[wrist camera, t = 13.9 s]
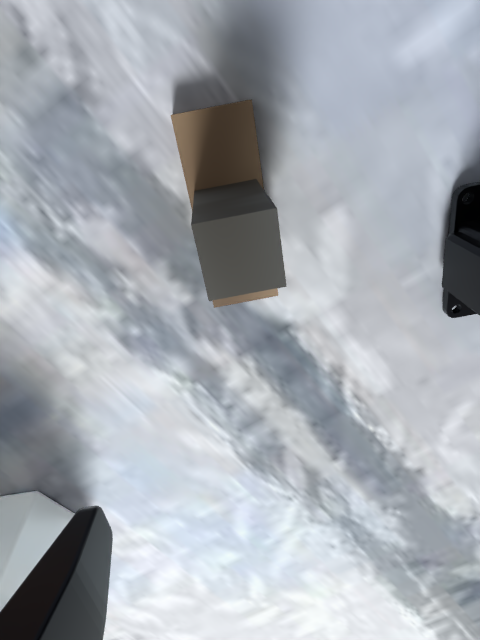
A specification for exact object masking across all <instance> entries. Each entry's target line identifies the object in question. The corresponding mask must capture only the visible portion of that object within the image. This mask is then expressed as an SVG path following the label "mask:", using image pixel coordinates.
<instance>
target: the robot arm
mask: <svg viewBox="0 0 480 640" xmlns="http://www.w3.org/2000/svg"><path fill="white" fill-rule="evenodd" d="M466 193H468V194H469V196H468V199H467V200H466V201H464V202H463V201H462V199H463V196H464V195H465V194H466ZM442 287H443V288H444V296H443V311H444V313H445V314H447V315H448V316H449V317H451V318H457V317H462V316H467V315H473V314H478V315H480V182H477V183H472V184H466V185H463V186H460V187H459V188H458V189H456V190H455V192H454V193H453V196H452V202H451V214H450V226H449V235H448V237H447V238H446V242H445V254H444V266H443V278H442ZM455 305H457V307H456V308H455V309H453V310H452V308H453V307H454V306H455ZM112 540H113V538H112V530H111V527H110V525H109V523H108V521H107V519H106V516H105V514H104V512H103V510H102V508H101V507H99V506H91V507H85V508H81V509H79V510H78V511H77V512H76V513H75V515H74V516H73V517H72V519H71V520H70V521H69V522H68V524H67V525H66V526H65V528H64V529H63V530H62V532H61V533H60V534H59V535H58V537H57V538H56V539H55V541H54V542H53V543H52V545H51V546H50V547H49V549H48V550H47V551H46V552H45V554H44V555H43V556H42V558H41V559H40V560H39V562H38V563H37V564H36V566H35V567H34V568H33V569H32V571H31V572H30V573H29V575H28V576H27V577H26V579H25V580H24V581H23V582H22V584H21V585H20V586H19V588H18V589H17V590H16V592H15V593H14V594H13V596H12V597H11V598H10V599H9V601H8V602H7V603H6V605H5V606H4V607H3V609H2V610H1V611H0V640H103V635H104V628H105V622H106V612H107V601H108V589H109V577H110V565H111V553H112Z"/></svg>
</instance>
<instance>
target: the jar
mask: <svg viewBox="0 0 480 640" xmlns="http://www.w3.org/2000/svg"><path fill="white" fill-rule="evenodd" d="M74 515H75V513H73V512H71V511H70V510H68V509H66V508H65V507H63V506H61V505H60V504H58V503H57V502H55V501H53V500H52V499H50V498H48V497H47V496H45V495H43V494H42V493H40V492H39V491H32V492H25V493H19V494H12V495H6V496H0V611H1V610H2V609H3V607H4V606H5V605H6V603H7V602H8V601H9V599H10V598H11V597H12V596H13V594H14V593H15V592H16V590H17V589H18V588H19V586H20V585H21V584H22V582H23V581H24V580H25V579H26V577H27V576H28V575H29V573H30V572H31V571H32V569H33V568H34V567H35V566H36V564H37V563H38V562H39V560H40V559H41V558H42V556H43V555H44V554H45V552H46V551H47V550H48V549H49V547H50V546H51V545H52V543H53V542H54V541H55V539H56V538H57V537H58V535H59V534H60V533H61V532H62V530H63V529H64V528H65V526H66V525H67V524H68V522H69V521H70V520H71V519H72V517H73V516H74Z"/></svg>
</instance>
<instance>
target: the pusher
mask: <svg viewBox="0 0 480 640" xmlns="http://www.w3.org/2000/svg"><path fill="white" fill-rule="evenodd" d="M171 119H172V123H173V128H174V132H175V136H176V141H177V145H178V150H179V154H180V159H181V163H182V167H183V172H184V176H185V181H186V185H187V190H188V194H189V198H190V203H191V207H192V222H191V225H192V230H193V234H194V238H195V243H196V247H197V251H198V256H199V260H200V264H201V269H202V273H203V277H204V282H205V286H206V290H207V295H208V299H209V301H212V300H213V305H214V308H215V307H220V306H225V305H231V304H236V303H241V302H247V301H252V300H257V299H262V298H268V297H273V296H278V290H277V288H281V287H286V279H285V271H284V263H283V255H282V247H281V239H280V231H279V222H278V214H277V208H276V206H275V205H274V204H273V202H272V201H271V199H270V198H269V196H268V195H267V194H266V192H265V191H264V186H263V179H262V171H261V164H260V157H259V149H258V142H257V135H256V127H255V120H254V112H253V105H252V100H245V101H240V102H235V103H230V104H224V105H219V106H214V107H209V108H204V109H199V110H193V111H188V112H183V113H178V114H173V115H171Z"/></svg>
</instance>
